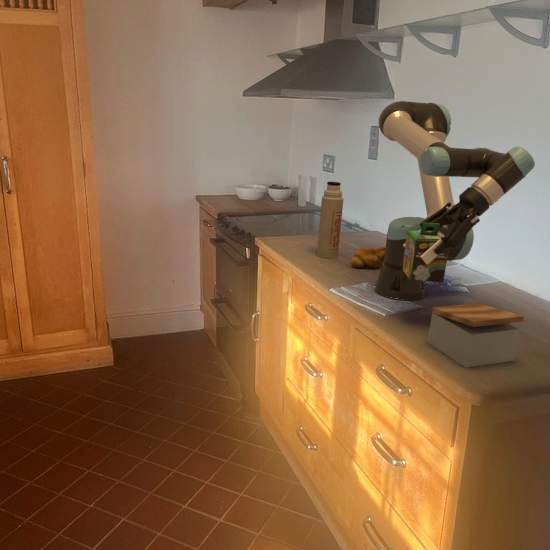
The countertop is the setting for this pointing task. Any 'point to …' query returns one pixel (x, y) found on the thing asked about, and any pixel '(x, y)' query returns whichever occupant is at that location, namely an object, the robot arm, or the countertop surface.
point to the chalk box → (418, 246)
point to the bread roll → (368, 258)
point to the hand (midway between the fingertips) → (414, 254)
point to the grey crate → (473, 341)
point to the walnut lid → (477, 314)
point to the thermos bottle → (330, 221)
